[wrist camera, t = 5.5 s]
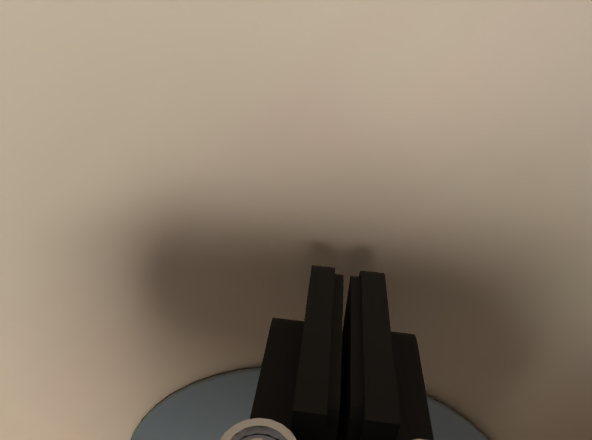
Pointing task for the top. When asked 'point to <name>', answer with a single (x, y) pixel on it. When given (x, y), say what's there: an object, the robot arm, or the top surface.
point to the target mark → (238, 405)
